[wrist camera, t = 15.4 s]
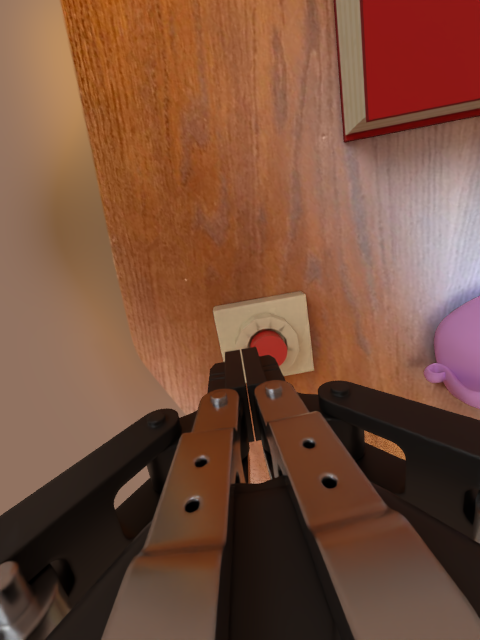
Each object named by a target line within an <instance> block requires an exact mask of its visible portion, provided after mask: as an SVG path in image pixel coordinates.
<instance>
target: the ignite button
mask: <svg viewBox="0 0 480 640" xmlns="http://www.w3.org/2000/svg"><path fill="white" fill-rule="evenodd" d="M251 347H256V348H257V351H258V354H259V356H264V355H270V356H272V357H274V358H275V359H276V361H277V363H278V365H279V366H280V365H281V364H282V363H283V362H284V361H285V359H286V357H287V347H286V344H285V342H284V341H283V339H282V337H281V336H280V335H279V334H278V333H276V332H274V331H262V332H260V333H258V334H257V335H255V336H254V338H253V339H252V341H251V344H250V348H251Z"/></svg>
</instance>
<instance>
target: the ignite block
mask: <svg viewBox="0 0 480 640" xmlns="http://www.w3.org/2000/svg"><path fill="white" fill-rule="evenodd" d="M213 314H214V319H215V324H216V329H217V334H218V339H219V343H220V348H221V353H222V358H223V362H225V352H227V351H233V350H239V349H240V353H241V359H242V365H243V372H244V378H245V383H247V382H246V376H245V369H244V363H243V357H242V351H241V349H245V348H250V344H251V341H252V339H253V338H254V336H255V335H257V334H258V333H260V332H262V331H274V332H276V333H278V334H279V335H280V336H281V337H282V339H283V341H284V342H285V344H286V347H287V357H286V359H285V361H284V362H283V363H282V364H281V365H280V366H279V368H280V370H281V372H282V374H283V376H287V375H292V374H298V373H304V372H309V371H314V365H313V356H312V347H311V338H310V329H309V320H308V311H307V302H306V294H304V293H303V292H301V291H298V292H292V293H287V294H281V295H276V296H270V297H265V298H259V299H253V300H248V301H242V302H237V303H231V304H226V305H220V306H214V309H213Z"/></svg>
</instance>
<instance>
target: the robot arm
mask: <svg viewBox="0 0 480 640" xmlns="http://www.w3.org/2000/svg"><path fill="white" fill-rule="evenodd" d="M241 351H242V357H243V363H244V369H245V376H246V382H247V388H248V394H249V400H250V406H251V412H252V419H253V425H254V431H255V437H256V441H258V440H262V445H263V452H264V458H265V461H266V465H267V468H268V472H269V475H270V478H271V480H269V481H266V482H264V483H260V484H250V458H249V449H250V447H249V442H253V441H254V435H253V429H252V422H251V416H250V409H249V403H248V396H247V390H246V384H245V378H244V372H243V365H242V359H241V353H240V349H239V350H233V351H227V352H225V362H222V363H216V364H214V366H213V367H212V368H211V369H210V376H209V384H208V393H207V394H206V395H204V396H203V397H202V399H201V400H200V404H199V407H198V410H197V411H195V412H193V413H191V414H189V415H186V416H183V417H181V418H179V416H178V413H177V412H176V411H175V410H173V409H160V410H156V411H153V412H151V413H149V414H147V415H145V416H144V417H142V418H141V419H140V420H138V421H137V422H135V423H134V424H132V425H131V426H129V427H128V428H126V429H125V430H124V431H122V432H121V433H119V434H118V435H116V436H115V437H113V438H112V439H111V440H109V441H108V442H106V443H105V444H103V445H102V446H101V447H99V448H98V449H96V450H95V451H93V452H92V453H90V454H89V455H88V456H86V457H85V458H83V459H82V460H80V461H79V462H77V463H76V464H74V465H73V466H72V467H70V468H69V469H67V470H66V471H65V472H63V473H61V474H60V475H59V476H57V477H56V478H54V479H53V480H51V481H50V482H49V483H47V484H46V485H44V486H43V487H41V488H40V489H38V490H37V491H36V492H34V493H33V494H31V495H30V496H28V497H27V498H25V499H24V500H23V501H21V502H20V503H18V504H17V505H15V506H14V507H12V508H11V509H10V510H8V511H7V512H5V513H4V514H3V515H1V516H0V640H480V420H477V419H473V418H470V417H466V416H463V415H460V414H456V413H453V412H449V411H446V410H443V409H439V408H436V407H432V406H429V405H426V404H422V403H419V402H415V401H412V400H409V399H405V398H402V397H398V396H395V395H392V394H388V393H385V392H381V391H378V390H375V389H371V388H368V387H364V386H361V385H358V384H354V383H351V382H347V381H331V382H327V383H324V384H323V385H321V386H320V387H319V389H318V395H316V394H301V393H298V392H296V391H295V389H294V387H293V386H292V385H291V384H290V383H288V382H286V381H285V379H284V376H283V374H282V372H281V370H280V368H279V365H278V363H277V361H276V359H275V358H274V357H272V356H270V355H264V356H259V354H258V351H257V348H256V347H251V348H245V349H241ZM364 430H365V431H368V432H370V433H373V434H375V435H377V436H380V437H382V438H385V439H387V440H389V441H392V442H394V443H395V444H397V445H398V446H399V447H400V448H401V449H402V450H403V452H404V454H405V457H406V461H405V460H403V459H401V458H398V457H396V456H394V455H392V454H389V453H387V452H385V451H383V450H381V449H378V448H376V447H374V446H372V445H369V444H367V443H365V439H364ZM146 465H147V468H148V472H149V475H150V479H148V480H147V481H146V482H145V483H144V484H143V485H142V486H141V487H140V488H138V490H136V491H135V492H134V493H133V494H132V495H131V496H130V497H129V498H128V499H127V500H126V501H124V502H123V503H122V504H121V505H120V506H119V507H118V508H117V509H116V510H115V509H114V499H115V496H116V494H117V492H118V491H119V489H120V488H121V487H122V486H123V485H124V484H126V483H127V482H128V481H129V480H130V479H131V478H132V477H134V476H135V475H136V474H137V473H138V472H139V471H141V470H142V469H143V468H144V467H145V466H146Z"/></svg>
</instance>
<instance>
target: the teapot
mask: <svg viewBox="0 0 480 640" xmlns="http://www.w3.org/2000/svg"><path fill="white" fill-rule="evenodd" d="M434 349H435V357H436V362H437V363H433V364H430V365H429V366H427V367H426V368H425V370H424V376H425V378H426V379H427V380H428V381H429V382H432V383H440V382H444V384H445V386H446V388H447V389H448V390H449V392H450V393H451V394H452V395H453V396H455V397H456V398H458V399H459V400H461V401H463V402H464V403H466V404H468V405H470V406H473V407H475V408H478V409H480V296H479V297H476V298H474V299H472V300H470V301H468V302H467V303H465V304H463V305H462V306H460V307H458V308H457V309H455V310H454V311H453V312H451V313H450V314H449V315H448V316H446V317H445V318H444V319H443V320H442V322H441V323H440V324H439V326H438V327H437V329H436V332H435V336H434Z"/></svg>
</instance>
